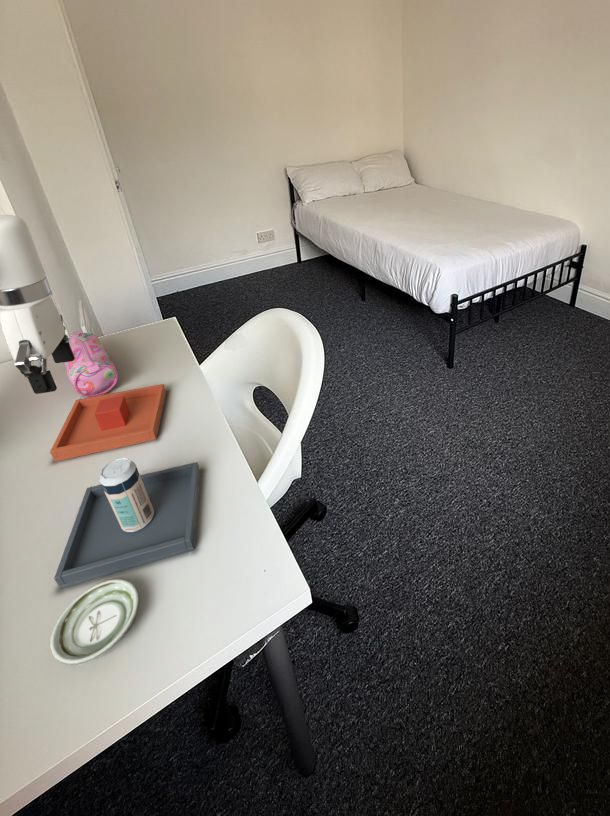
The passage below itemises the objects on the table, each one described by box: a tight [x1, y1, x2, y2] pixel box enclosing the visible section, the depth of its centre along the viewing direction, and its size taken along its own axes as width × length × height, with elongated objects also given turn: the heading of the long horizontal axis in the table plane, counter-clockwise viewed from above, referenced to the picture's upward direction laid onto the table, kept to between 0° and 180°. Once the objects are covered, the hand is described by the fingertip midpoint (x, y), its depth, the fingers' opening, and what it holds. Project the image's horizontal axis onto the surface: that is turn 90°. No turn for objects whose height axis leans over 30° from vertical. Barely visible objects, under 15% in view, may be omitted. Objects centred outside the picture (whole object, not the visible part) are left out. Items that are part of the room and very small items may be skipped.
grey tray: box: [53, 461, 201, 590], centre depth 67 cm, size 18×16×3 cm
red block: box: [95, 396, 130, 431], centre depth 87 cm, size 4×4×4 cm
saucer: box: [49, 578, 140, 666], centre depth 54 cm, size 10×10×2 cm
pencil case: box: [63, 330, 119, 398], centre depth 100 cm, size 21×9×9 cm, turn 41°
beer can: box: [99, 457, 154, 532], centre depth 65 cm, size 5×5×12 cm
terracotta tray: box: [49, 383, 167, 462], centre depth 88 cm, size 18×16×3 cm
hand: (56, 375), depth 77 cm, fingers open, 9 cm apart
